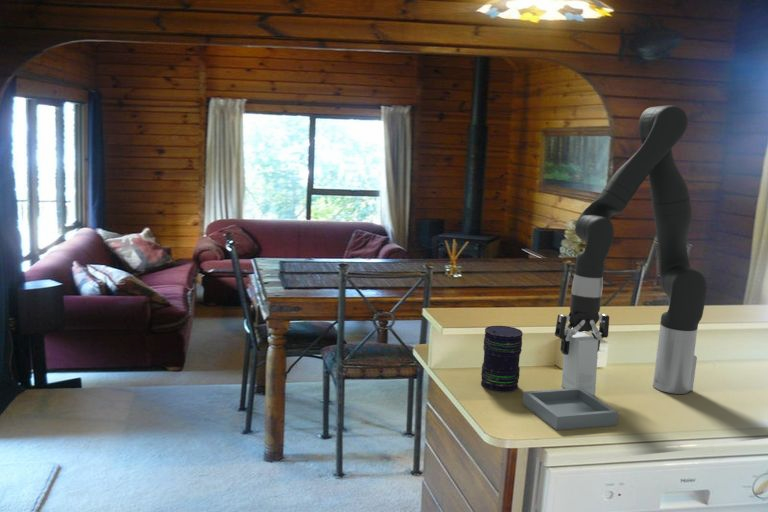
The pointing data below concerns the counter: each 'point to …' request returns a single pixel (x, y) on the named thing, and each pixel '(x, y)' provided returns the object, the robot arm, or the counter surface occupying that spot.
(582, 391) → the tray
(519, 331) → the dark blue barrel
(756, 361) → the counter surface
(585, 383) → the skincare box
